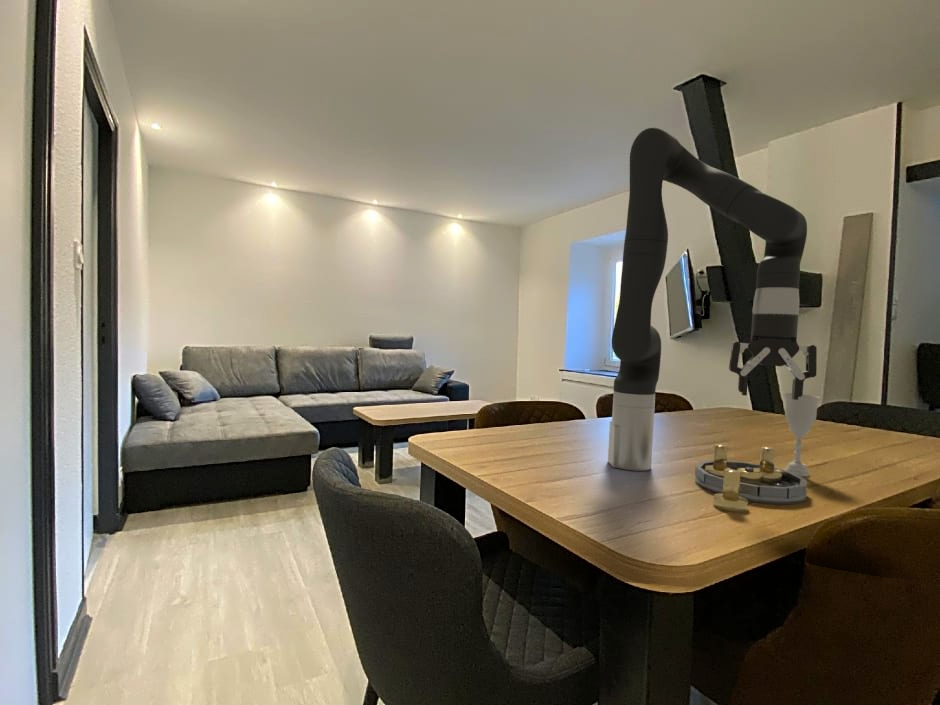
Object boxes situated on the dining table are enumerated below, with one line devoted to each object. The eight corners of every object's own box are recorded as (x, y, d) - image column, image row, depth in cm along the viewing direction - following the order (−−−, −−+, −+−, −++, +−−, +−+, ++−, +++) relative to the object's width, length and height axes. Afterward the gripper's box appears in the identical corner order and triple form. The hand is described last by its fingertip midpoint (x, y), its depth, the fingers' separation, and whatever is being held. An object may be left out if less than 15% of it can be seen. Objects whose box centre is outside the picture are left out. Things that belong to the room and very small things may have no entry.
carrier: (717, 500, 95) (720, 459, 95) (681, 471, 115) (683, 437, 114) (829, 507, 93) (832, 465, 93) (773, 476, 113) (776, 441, 113)
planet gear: (720, 511, 89) (722, 474, 89) (708, 500, 95) (710, 466, 95) (753, 513, 89) (755, 476, 89) (739, 502, 94) (741, 467, 94)
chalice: (771, 468, 120) (776, 393, 119) (798, 468, 121) (804, 393, 120) (794, 477, 113) (799, 397, 112) (822, 478, 113) (828, 398, 112)
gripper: (735, 311, 96) (729, 396, 97) (824, 313, 90) (818, 403, 91) (731, 312, 103) (726, 392, 104) (814, 314, 97) (807, 398, 98)
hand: (769, 397), depth 97 cm, fingers open, 8 cm apart
